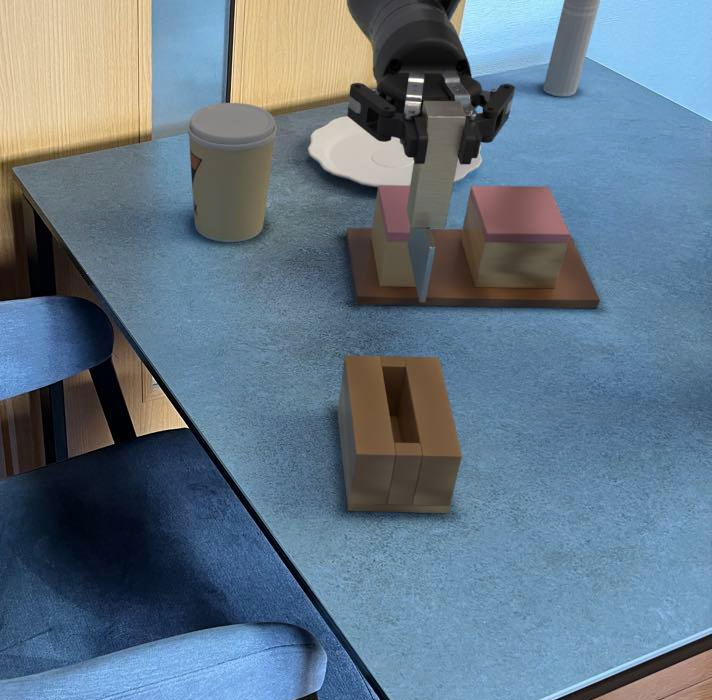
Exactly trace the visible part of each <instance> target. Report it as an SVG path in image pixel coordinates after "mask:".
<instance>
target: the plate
mask: <svg viewBox="0 0 712 700" xmlns="http://www.w3.org/2000/svg"><path fill="white" fill-rule="evenodd" d="M309 136H310V137H309V138H310V144H309V145H308V146H307V153H308V155H309V157H310V158H312V159H313V160H315V161H316V162H317V163H319V165H320V167H321V168H322V169H323V171H325V172H327V173H329V174H331V175H332V176H335V177H339V178H343V179H347V180H351V181H352V182H354V183H357V184H359V185H362V186H367V187H371V188H372V187H373V188H378V185H404V186H410V184H411V177H412V171H413V165H414V160H413V158H408V157H407V156H406V155H405V152H404V148H403V145H402V144H401V143H400V139H399V138H396V137H392V138H391V140H390V141H388V142H381V141H378V140H377V139H375V138H374V137H373V136H372V135H370V134H369V133H368V132H367V131H365V130H364V129H363V128H362V127H360V126H359V125H358V124H357V123H355V122H354V121H353V120H351V119H350V118H349V117H348V116H347V115H346V116H340V117H337V118H334V119H332V120H330V121H329V122H328V123H326V124H325V125H323V126H322V127H319V128H317V129H315V130H313V132H312V133H311V134H310V135H309ZM481 148H482V144H480V149H479V154H478V157H477V158H472V160H471V163H470V165H469V164H460V162H459V159H458V162H457V168H456V173H455V178H454V183H456V182H458V181H461V180H463V179H464V178H465V177H466V176H467V175H468V174H469V173H470V172H473V171H474V170H476V169H478V168H480V166H481V164H482V162H483V158H482V155H481V153H480V152H481Z"/></svg>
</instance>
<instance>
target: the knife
mask: <svg viewBox="0 0 712 700" xmlns="http://www.w3.org/2000/svg"><path fill="white" fill-rule="evenodd" d="M421 117H423V120H424V123H425V127H426V129H427V133H428V146H427V153H426V159H425V163H424V164H414V165H413V171H412V177H411V184H410V190H409V196H408V203H407V209H406V210H407V215H408V219H409V224H410V227H411V228H410V234H409V240H408V251H409V256H410V260H411V265H412V270H413V274H414V279H415V284H416V289H417V293H418V298H419V302H425V301H426V296H427V290H428V285H429V279H430V274H431V268H432V263H433V258H434V252H435V244H434V240H433V236H432V232H431V229H446V227H447V221H448V215H449V209H450V204H451V199H452V193H453V188H454V183H455V182H454V178H455V173H456V168H457V162H458V156H459V150H460V145H461V140H462V134H463V129H464V125H465V120H466V116H465V114H464V111H463V108H462V105H461V102H460V101H424V102H423V107H422V114H421Z"/></svg>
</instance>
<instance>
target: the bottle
mask: <svg viewBox="0 0 712 700" xmlns="http://www.w3.org/2000/svg"><path fill="white" fill-rule="evenodd" d="M600 2H601V0H564V1H563V4H562V9H561V13H560V17H559V21H558V26H557V30H556V33H555V37H554V42H553V46H552V51H551V55H550V59H549V63H548V67H547V72H546V74H545V80H544V83H543V91H544V92H545V93H546V94H548V95H551V96H555V97H561V98H562V97H563V98H564V97H565V98H566V97H571V96H573V95H574V96H575V94H576V93H577V90H578V88H579V87H578V86H579V83H580V79H581V75H582V71H583V68H584V65H585V60H586V56H587V52H588V48H589V44H590V41H591V37H592V34H593V29H594V26H595V21H596V19H597V18H596V17H597V15H598V10H599V6H600Z"/></svg>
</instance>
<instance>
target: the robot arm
mask: <svg viewBox="0 0 712 700" xmlns="http://www.w3.org/2000/svg"><path fill="white" fill-rule="evenodd" d="M461 1H462V0H346V5H347V10H348V12H349V14H350V16H351V18H352V19H353V21H354V22H355V24H356V25H357V27H358V29H359V30H360V31H361V33H362V34H363V35H364V36H365V37H366V39H367V40H368V41H369V43H370V45H371V46H370V47H371V50H372V73H373V78H374V80H375V81H376V87H371V88H370V87H368V86H367V85H365V84H364V83H362V82H353V83H351V84H350V87H349V96H348V106H347V113H346V114H347V115H346V116H348V117H349V118H350V119H351V120H353V121H354V122H355V123H357V124H358V125H359V126H360V127H362V128H363V129H364V130H365V131H367V132H368V133H369V134H370V135H372V136H373V137H374V138H375V139H377V140H378V141H381V142H388V141H390V140H391V138H392V137H396V138H399V139H400V143H401V144H402V145H403V148H404V152H405V155H406V156H407V157H408V158H413V160H414V164H424V163H425V159H426V153H427V146H428V133H427V129H426V127H425V123H424V120H423V117H421V114H422V107H423V102H424V101H460V102H461V105H462V108H463V111H464V114H465V116H466V120H465V125H464V129H463V134H462V140H461V145H460V150H459V156H458V159H459V162H460V164H469V165H470V163H471V160H472V158H477V157H478V154H479V149H480V145H482V144H481V143H484V144H490V143H492V142H493V141H494V140H495V139H496V137H497V135H498V134H499V132H500V131H501V130H502V128H503V127H504V125H505V124H506V122H507V121H508V120H509V117H510V114H511V109H512V104H513V99H514V95H515V90H516V87H515V85H513V84H510V83H503V84H500V85H499V87H498V88H491V89H490V91H489V90H485V89H483V86H482V84H481V83H480V82H479V80H476V79H474V78H473V76H472V71H471V65H470V62H469V59H468V57H467V54H466V51H465V50H464V47H463V44H462V41H461V39H460V36H459V34H458V32H457V30H456V27H455V26H454V24H453V23H452V22H451V20H452V18H453V16H454V15H455V12H456V10H457V9H458V6H459V4H460V3H461ZM478 107H480V108H482V112H479V113H478V111H477V108H478ZM480 150H481V149H480Z"/></svg>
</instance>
